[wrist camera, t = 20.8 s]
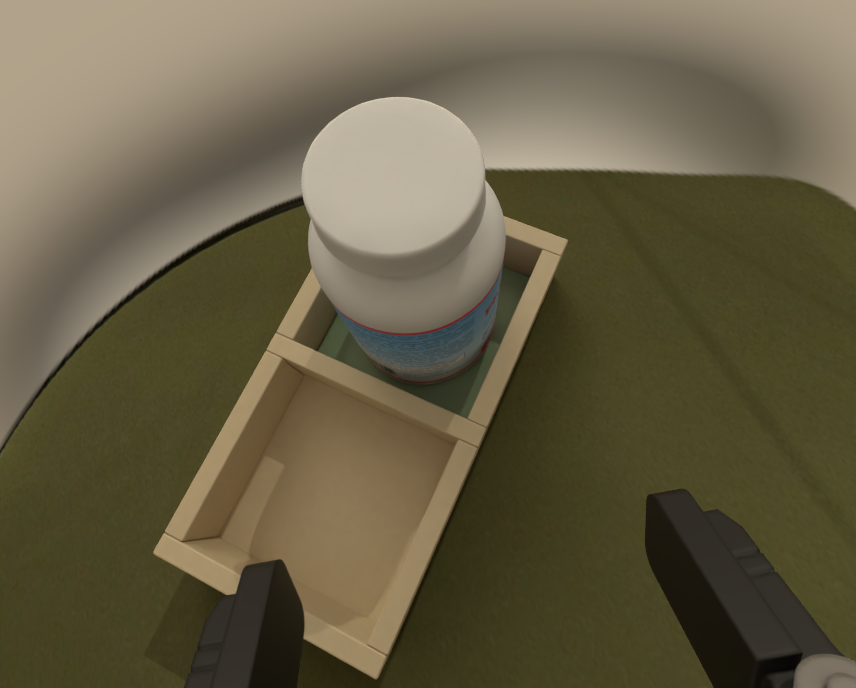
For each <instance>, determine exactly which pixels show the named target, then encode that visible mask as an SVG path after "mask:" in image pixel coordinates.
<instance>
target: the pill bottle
mask: <svg viewBox="0 0 856 688" xmlns="http://www.w3.org/2000/svg"><path fill="white" fill-rule="evenodd" d="M301 184H302V185H301V186H302V194H303V199H304V203H305V206H306V209H307V212H308V214H309V216H310V218H311V221H310V226H309V234H308V248H309V256H310V261H311V265H312V268H313V271H314V274H315V276H316V278H317V280H318V282H319V284H320V286H321V288H322V290H323V291H324V293H325V294H326V296H327V298H328V299H329V301H330V302H331V304H332V305H333V307H334V308H335V310H336V311H337V313H338V314H339V316H340V317H341V319H342V320H343V322H344V323H345V325H346V326H347V328H348V329H349V331H350V332H351V334H352V335H353V337H354V338H355V340H356V341H357V343H358V344H359V346H360V347H361V349H362V350H363V352H364V353H365V355H366V356H367V357H368V359H369V360H370V361H371V362H372V363H373V364H374V365H375V366H376V367H377V368H378V369H379V370H380V371H382V372H383V373H384V374H386V375H388V376H389V377H391V378H393V379H396V380H398V381H401V382H404V383H408V384H415V385H429V384H435V383H440V382H443V381H446V380H449V379H451V378H453V377H455V376H457V375H459V374H461V373H462V372H464V371H465V370H467V369H468V368H469V367H471V366H472V365H473V364H474V363H475V362H476V361H477V360H478V359H479V358H480V357H481V355H482V354H483V353H484V351H485V350H486V348H487V346H488V344H489V342H490V339H491V336H492V333H493V329H494V324H495V318H496V309H497V303H498V295H499V289H500V282H501V274H502V268H503V261H504V253H505V241H506V231H505V222H504V217H503V213H502V210H501V207H500V204H499V202H498V199H497V197H496V195H495V194H494V192H493V190H492V189H491V187H490V186H489V184H488V183H487V182H486V180H485V165H484V160H483V156H482V152H481V149H480V147H479V144H478V142H477V140H476V138H475V137H474V136H473V134H472V132H471V131H470V130H469V129H468V128H467V126H466V125H465V124H464V123H463V122H462V121H461V120H460V119H459V118H457V117H456V116H455V115H453V114H452V113H451V112H449V111H448V110H446V109H444V108H442V107H440V106H438V105H436V104H434V103H431V102H428V101H423V100H420V99H415V98H406V97H391V98H382V99H376V100H372V101H368V102H365V103H362V104H359V105H357V106H355V107H353V108H350V109H349V110H347V111H345V112H343V113H342V114H340V115H339V116H338V117H336V118H335V119H334V120H332V121H331V122H330V123H329V124H328V125H327V126H326V127H325V128H324V129H323V130H322V131H321V132H320V133H319V135H318V136H317V137H316V138H315V140H314V141H313V143H312V144H311V146H310V149H309V151H308V153H307V156H306V158H305V161H304V165H303V169H302V180H301Z"/></svg>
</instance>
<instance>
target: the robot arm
mask: <svg viewBox="0 0 856 688" xmlns="http://www.w3.org/2000/svg"><path fill="white" fill-rule="evenodd" d="M645 548H646V553H647V557H648V560H649V563H650V566H651V568H652V571H653V573H654V575H655V577H656V579H657V581H658V582H659V584H660V586H661V588H662V590H663V592H664V594H665V596H666V598H667V600H668V601H669V603H670V605H671V607H672V609H673V611H674V613H675V615H676V617H677V618H678V620H679V622H680V624H681V626H682V628H683V630H684V632H685V634H686V636H687V637H688V639H689V641H690V643H691V645H692V647H693V649H694V651H695V653H696V655H697V656H698V658H699V660H700V662H701V664H702V666H703V668H704V670H705V672H706V674H707V675H708V677H709V679H710V681H711V683H712V685H713V687H714V688H856V662H855V661H853V660H851V659H848V658H846V657H845V656H844V655H843V654H842V653H840V652H839V651H838V650H837V648H836V647H835V646H834V645H833V644H832V643H831V641H830V640H829V639H828V638H827V636H826V635H825V634H824V632H823V631H822V630H821V628H820V627H819V626H818V625H817V623H816V622H815V621H814V619H813V618H812V617H811V615H810V614H809V613H808V612H807V610H806V609H805V608H804V606H803V605H802V604H801V602H800V601H799V600H798V599H797V597H796V596H795V595H794V593H793V592H792V591H791V589H790V588H789V587H788V586H787V584H786V583H785V582H784V580H783V579H782V578H781V576H780V575H779V574H778V573H777V572H775V571H774V567H773V566H772V565H771V564H770V562H769V561H768V560H767V558H766V557H765V556H764V554H763V553H762V554H761V553H760V551H759V548H758V547H757V545H756V544H755V543H754V541H753V540H752V539H751V538H750V536H749V535H748V534H747V532H746V531H745V530H744V528H743V527H742V526H740V525H739V524H738V523H736V522H735V521H733V520H732V519H730V518H729V517H728V516H726V515H725V514H723V513H722V512H721V511H719V510H718V509H717V510H711V511H706V512H703V511H702V509H701V508H700V507H699V505H698V504H697V502H696V501H695V499H694V498H693V497H692V495H691V494H690V493H689V492H688V491H687V490H686V489H677V490H672V491H666V492H661V493H655V494H649V495H648V497H647V502H646V528H645ZM304 628H305V620H304V610H303V606H302V602H301V600H300V597H299V595H298V593H297V591H296V588H295V586H294V584H293V581H292V579H291V577H290V575H289V572H288V570H287V568H286V565H285V563H284V562H283V560H281V559H278V560H272V561H267V562H261V563H255V564H250V565H246V566H245V567H244V569H243V571H242V573H241V577H240V580H239V584H238V587H237V591H236V594H231V595H225V596H222V597H221V599H220V600H219V602H218V603H217V605H216V606H215V608H214V609H213V610H212V612H211V613H210V615H209V616H208V618H207V619H206V621H205V624H204V627H203V630H202V633H201V637H200V640H199V643H198V646H197V647H198V651H196V652H195V655H194V658H193V662H192V665H191V673H190V674H188V677H187V680H186V683H185V687H184V688H297V680H298V673H299V666H300V659H301V652H302V645H303V638H304Z"/></svg>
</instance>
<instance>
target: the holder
mask: <svg viewBox="0 0 856 688" xmlns="http://www.w3.org/2000/svg"><path fill="white" fill-rule="evenodd" d="M503 217H504V222H505V231H506V241H505V253H504V261H503V268H502V274H501V282H500V289H499V295H498V303H497V309H496V318H495V324H494V329H493V333H492V336H491V339H490V342H489V344H488V346H487V348H486V350H485V351H484V353H483V354H482V355H481V357H480V358H479V359H478V360H477V361H476V362H475V363H474V364H473V365H472V366H471V367H469V368H468V369H467V370H465V371H464V372H462V373H461V374H459V375H457V376H455V377H453V378H451V379H449V380H446V381H443V382H440V383H435V384H429V385H415V384H408V383H404V382H401V381H398V380H396V379H393V378H391V377H389V376H388V375H386V374H384V373H383V372H382V371H380V370H379V369H378V368H377V367H376V366H375V365H374V364H373V363H372V362H371V361H370V360H369V359H368V357H367V356H366V355H365V353H364V352H363V350H362V349H361V347H360V346H359V344H358V343H357V341H356V340H355V338H354V337H353V335H352V334H351V332H350V331H349V329H348V328H347V326H346V325H345V323H344V322H343V320H342V319H341V317H340V316H339V314H338V313H337V311H336V310H335V308H334V307H333V305H332V304H331V302H330V301H329V299H328V298H327V296H326V294H325V293H324V291H323V290H322V288H321V286H320V284H319V282H318V280H317V278H316V276H315V274H314V271H313V268H312V269H311V271H310V273H309V275H308V276H307V278H306V280H305V282H304V284H303V285H302V287H301V289H300V291H299V292H298V294H297V296H296V298H295V300H294V301H293V303H292V305H291V307H290V309H289V310H288V312H287V314H286V316H285V317H284V319H283V321H282V323H281V325H280V326H279V328H278V330H277V333H276V334H275V335H274V337H273V339H272V341H271V342H270V344H269V346H268V348H267V351H266V352H265V353H264V355H263V357H262V359H261V360H260V362H259V364H258V366H257V368H256V369H255V371H254V373H253V375H252V376H251V378H250V380H249V382H248V384H247V385H246V387H245V389H244V391H243V393H242V394H241V396H240V398H239V400H238V402H237V403H236V405H235V407H234V409H233V410H232V412H231V414H230V416H229V418H228V419H227V421H226V423H225V425H224V427H223V428H222V430H221V432H220V434H219V435H218V437H217V439H216V441H215V443H214V444H213V446H212V448H211V450H210V452H209V453H208V455H207V457H206V459H205V460H204V462H203V464H202V466H201V468H200V469H199V471H198V473H197V475H196V477H195V478H194V480H193V482H192V484H191V485H190V487H189V489H188V491H187V493H186V494H185V496H184V498H183V500H182V502H181V503H180V505H179V507H178V509H177V510H176V512H175V514H174V516H173V518H172V519H171V521H170V523H169V525H168V527H167V528H166V530H165V533H164V534H163V536H162V537H161V539H160V541H159V543H158V545H157V546H156V548H155V550H154V552H153V554H154V555H156V556H158V557H160V558H161V559H163V560H165V561H167V562H168V563H170V564H172V565H174V566H175V567H177V568H179V569H181V570H183V571H184V572H186V573H188V574H190V575H191V576H193V577H195V578H197V579H198V580H200V581H202V582H204V583H206V584H207V585H209V586H211V587H213V588H214V589H216V590H218V591H220V592H221V593H223V594H225V595H231V594H236V591H237V587H238V584H239V580H240V577H241V573H242V571H243V569H244V567H245V566H246V565H250V564H255V563H261V562H267V561H272V560H278V559H281V560H283V562H284V563H285V565H286V568H287V570H288V572H289V575H290V577H291V579H292V581H293V584H294V586H295V588H296V591H297V593H298V595H299V597H300V600H301V602H302V606H303V610H304V620H305V628H304V638H303V639H305V640H306V641H308V642H310V643H312V644H314V645H315V646H317V647H319V648H321V649H322V650H324V651H326V652H328V653H329V654H331V655H333V656H335V657H337V658H338V659H340V660H342V661H344V662H345V663H347V664H349V665H351V666H352V667H354V668H356V669H358V670H360V671H361V672H363V673H365V674H367V675H368V676H370V677H372V678H374V679H378V677H379V675H380V673H381V671H382V669H383V667H384V665H385V663H386V661H387V659H388V657H389V655H390V653H391V650H392V648H393V646H394V644H395V641H396V639H397V637H398V634H399V632H400V630H401V627H402V625H403V623H404V621H405V618H406V616H407V614H408V611H409V609H410V607H411V604H412V602H413V600H414V598H415V595H416V593H417V591H418V588H419V586H420V584H421V581H422V579H423V577H424V575H425V572H426V570H427V568H428V565H429V563H430V561H431V558H432V556H433V554H434V551H435V549H436V547H437V545H438V542H439V540H440V538H441V535H442V533H443V531H444V528H445V526H446V524H447V522H448V519H449V517H450V515H451V512H452V510H453V508H454V505H455V503H456V501H457V499H458V496H459V494H460V492H461V489H462V487H463V485H464V482H465V480H466V478H467V476H468V473H469V471H470V469H471V466H472V464H473V462H474V459H475V457H476V455H477V452H478V450H479V448H480V446H481V443H482V441H483V439H484V436H485V434H486V432H487V429H488V427H489V425H490V423H491V420H492V418H493V416H494V413H495V411H496V409H497V406H498V404H499V402H500V400H501V397H502V395H503V393H504V390H505V388H506V386H507V383H508V381H509V379H510V377H511V374H512V372H513V370H514V367H515V365H516V363H517V360H518V358H519V356H520V353H521V351H522V349H523V347H524V344H525V342H526V340H527V337H528V335H529V333H530V330H531V328H532V326H533V324H534V321H535V319H536V317H537V314H538V312H539V310H540V307H541V305H542V303H543V301H544V298H545V296H546V294H547V291H548V289H549V287H550V284H551V282H552V280H553V278H554V275H555V273H556V270H557V268H558V265H559V263H560V260H561V258H562V255H563V253H564V250H565V248H566V245H567V243H568V240H566V239H563V238H561V237H558V236H555V235H553V234H550V233H547V232H545V231H542V230H539V229H537V228H534V227H531V226H529V225H526V224H523V223H521V222H518V221H515V220H513V219H510V218H507V217H505V216H503Z"/></svg>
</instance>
